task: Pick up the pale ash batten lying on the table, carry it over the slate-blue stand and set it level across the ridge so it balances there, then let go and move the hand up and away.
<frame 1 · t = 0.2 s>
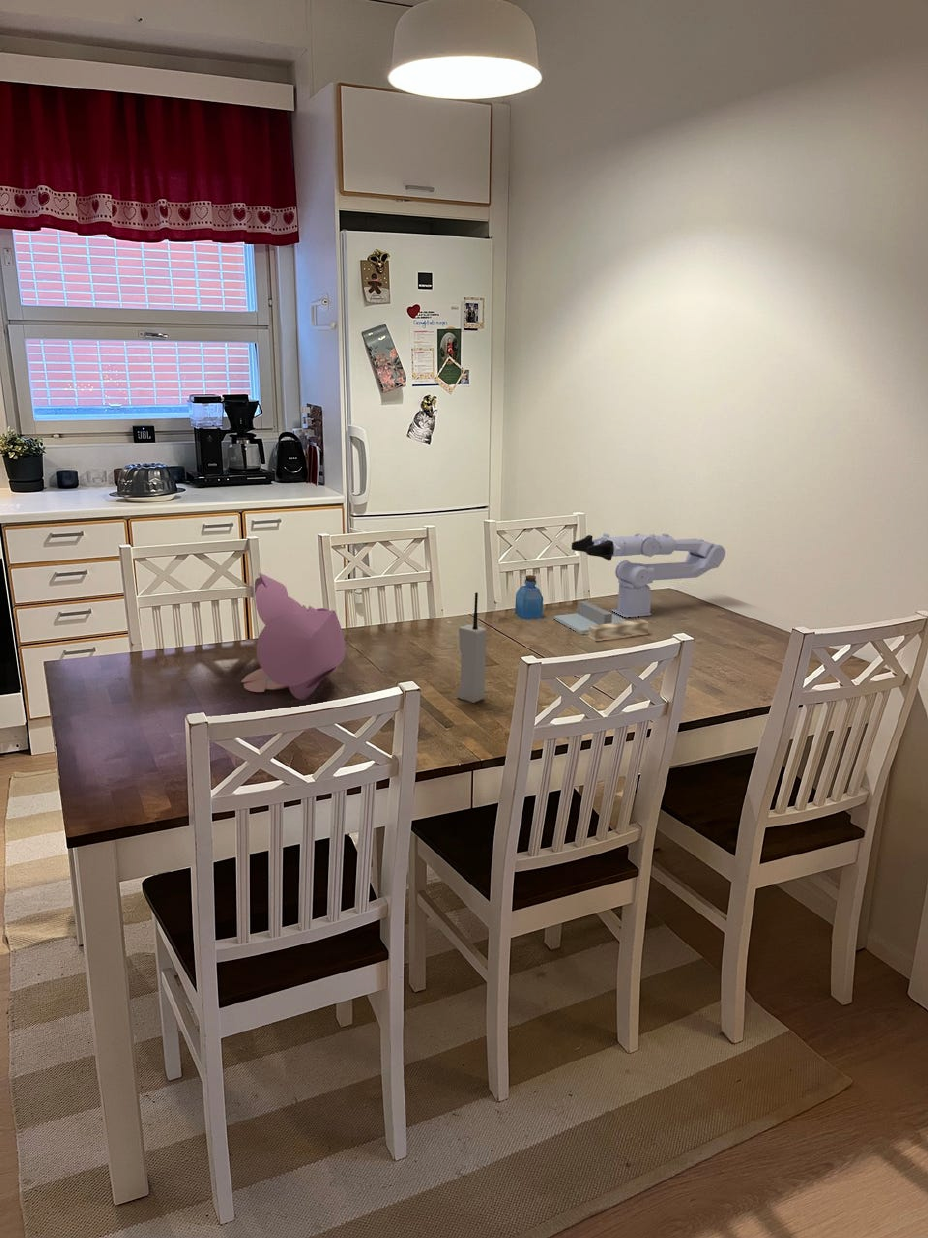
hand: (579, 548, 262), 21 cm above the table, tool horizontal, fingers open, 7 cm apart
ash batten: (618, 638, 255), on the table
perfume bottle: (528, 616, 271), on the table
purple toy bird: (286, 683, 213), on the table
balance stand: (593, 624, 265), on the table
vintage mobile phone: (470, 699, 208), on the table
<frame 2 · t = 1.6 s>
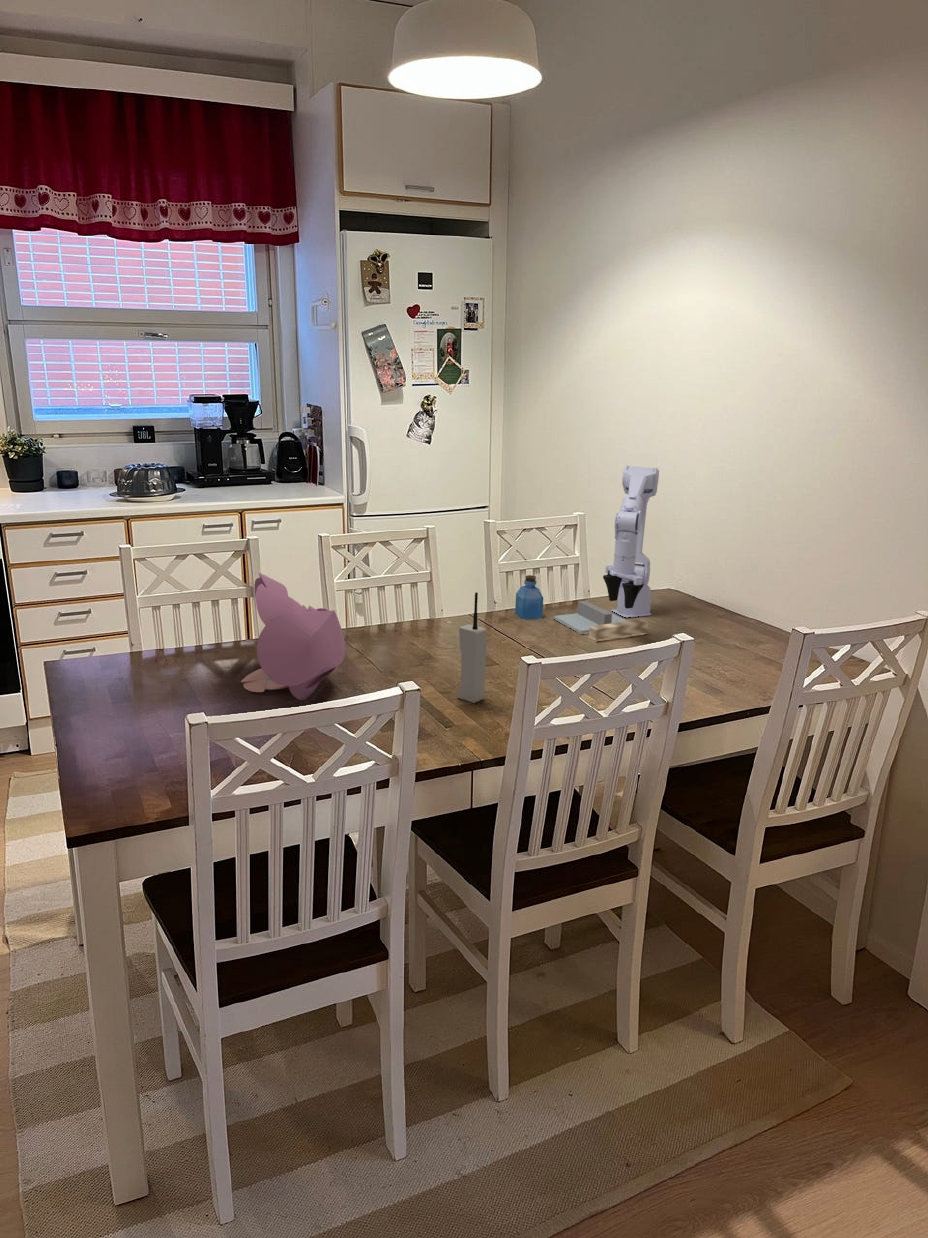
hand: (620, 604, 252), 9 cm above the table, tool pointing down, fingers open, 7 cm apart
nothing on the table moved.
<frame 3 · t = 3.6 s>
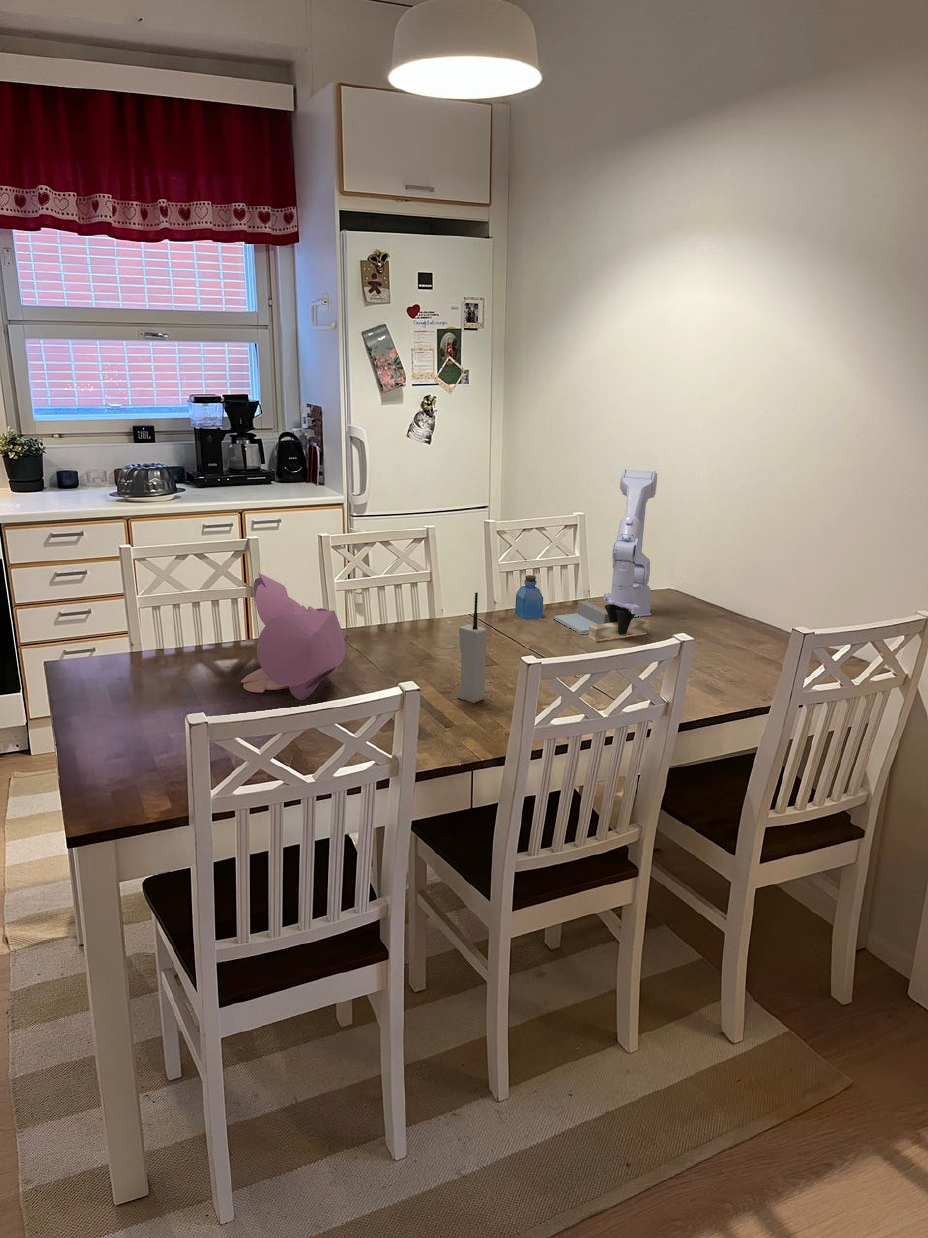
hand: (618, 632, 254), 1 cm above the table, tool pointing down, fingers closed on ash batten, 3 cm apart
ash batten: (618, 637, 255), on the table, touching gripper
everything else where it was.
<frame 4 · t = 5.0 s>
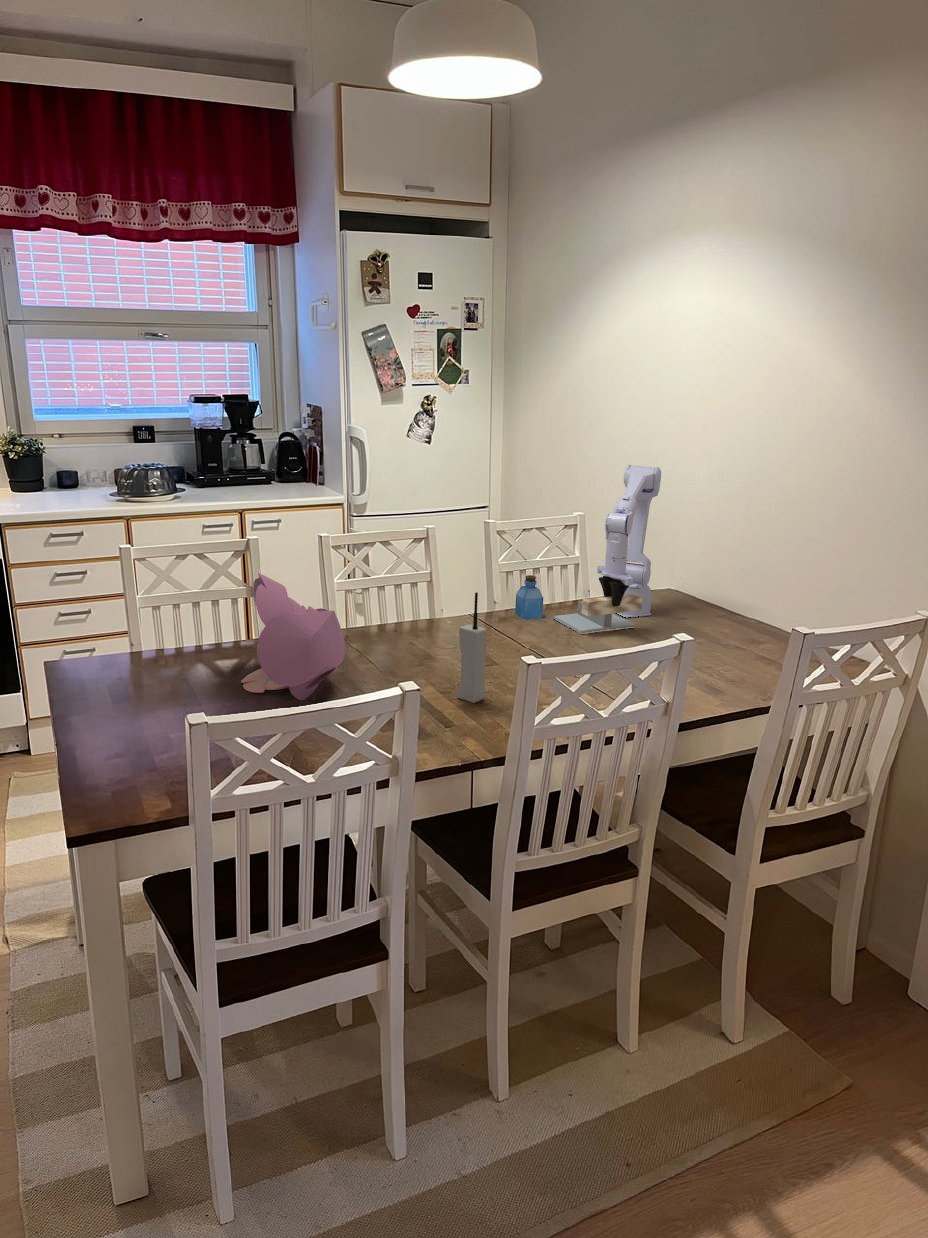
hand: (612, 604, 256), 8 cm above the table, tool pointing down, fingers closed on ash batten, 3 cm apart
ash batten: (611, 611, 256), point 6 cm above the table, touching gripper
everything else where it was.
when the fingers open (7 cm above the table, at t = 6.6 s): ash batten stays where it is, resting on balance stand.
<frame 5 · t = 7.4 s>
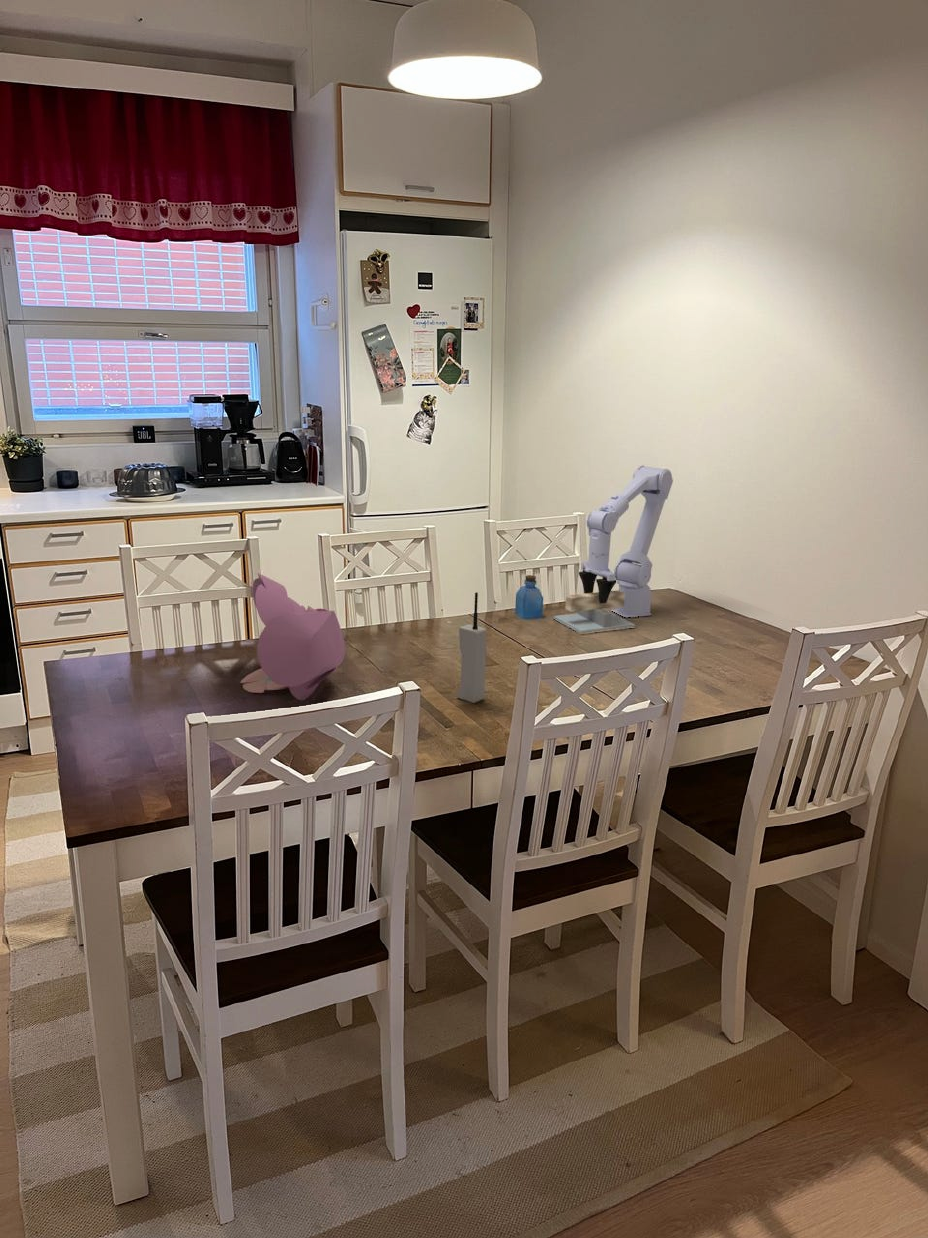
hand: (595, 599, 263), 7 cm above the table, tool pointing down, fingers open, 7 cm apart
ash batten: (595, 607, 264), point 5 cm above the table, touching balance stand
everything else where it was.
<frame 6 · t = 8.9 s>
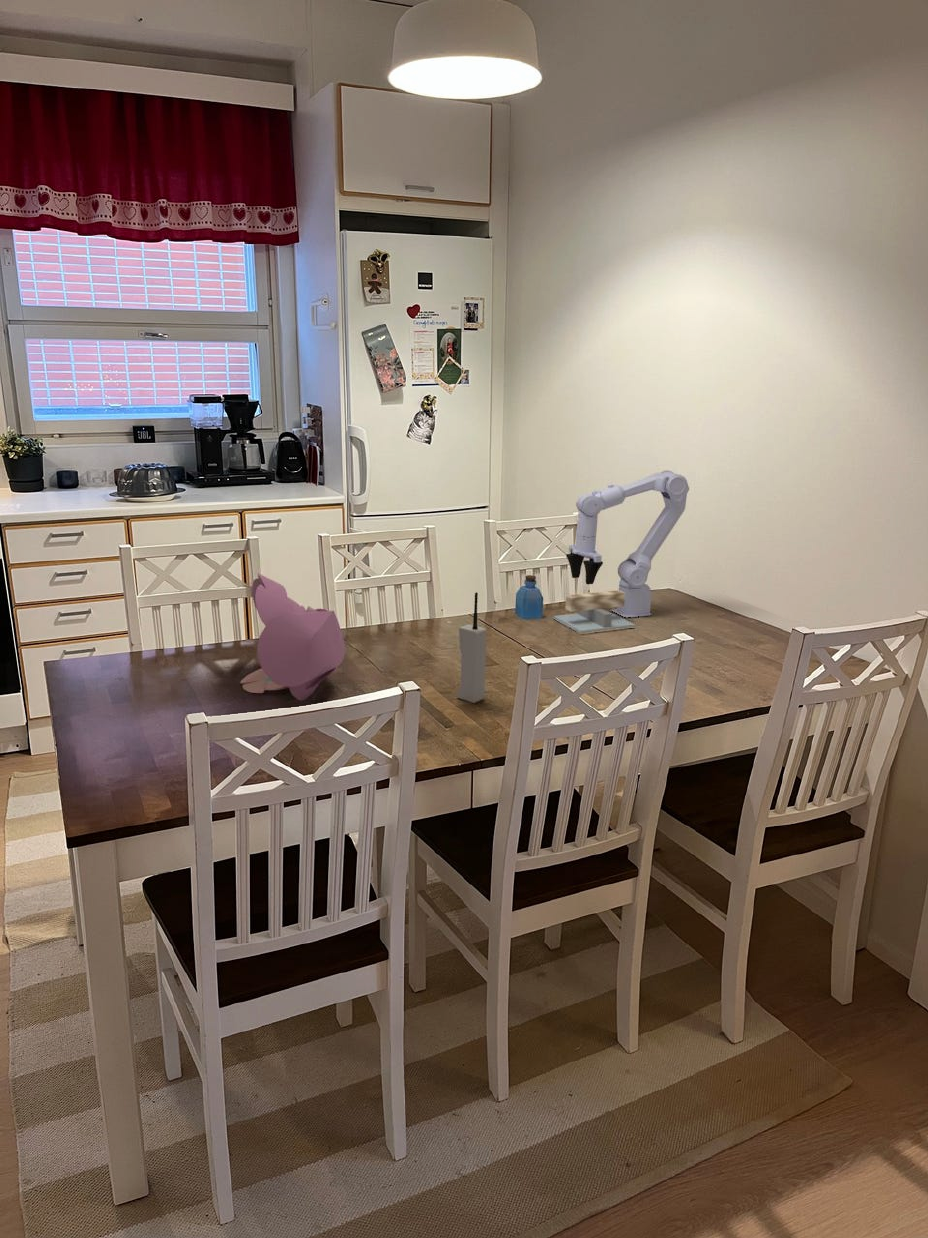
hand: (582, 580, 271), 10 cm above the table, tool pointing down, fingers open, 7 cm apart
nothing on the table moved.
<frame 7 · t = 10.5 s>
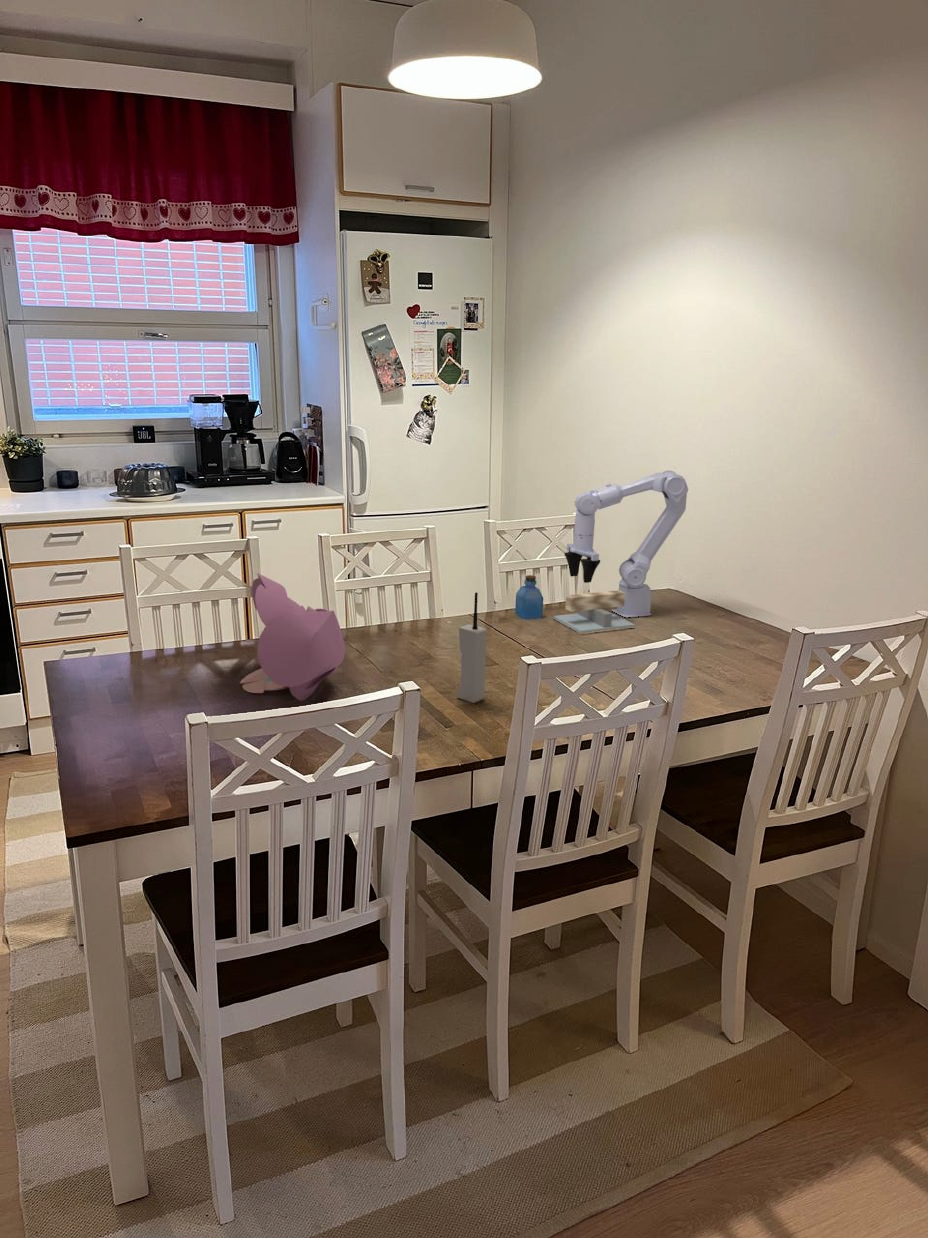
hand: (580, 579, 273), 10 cm above the table, tool pointing down, fingers open, 7 cm apart
nothing on the table moved.
at the end: ash batten touching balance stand; ash batten tilted 0°; ash batten inside the target area on the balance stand (0.0 cm from its centre), point 5.0 cm above the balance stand's base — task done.
